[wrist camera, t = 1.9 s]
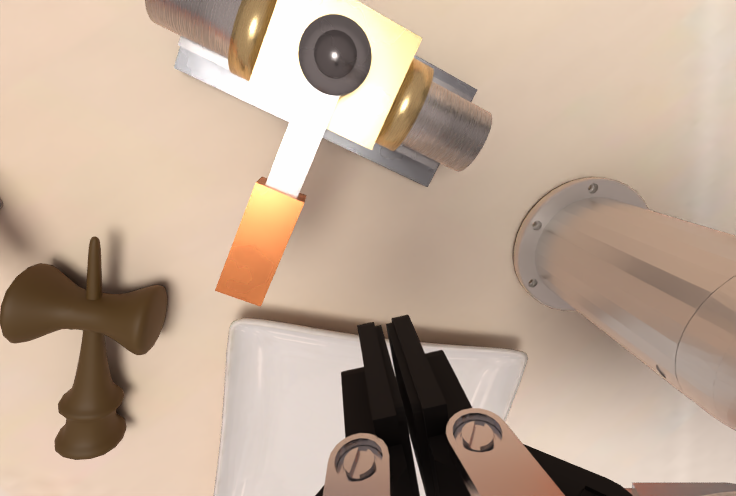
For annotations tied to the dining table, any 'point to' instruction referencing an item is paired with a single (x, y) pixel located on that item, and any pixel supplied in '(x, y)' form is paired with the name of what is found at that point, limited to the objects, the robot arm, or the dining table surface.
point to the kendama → (85, 343)
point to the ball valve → (353, 111)
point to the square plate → (317, 402)
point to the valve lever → (295, 154)
